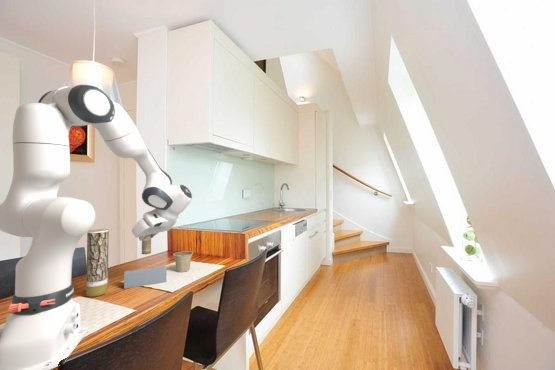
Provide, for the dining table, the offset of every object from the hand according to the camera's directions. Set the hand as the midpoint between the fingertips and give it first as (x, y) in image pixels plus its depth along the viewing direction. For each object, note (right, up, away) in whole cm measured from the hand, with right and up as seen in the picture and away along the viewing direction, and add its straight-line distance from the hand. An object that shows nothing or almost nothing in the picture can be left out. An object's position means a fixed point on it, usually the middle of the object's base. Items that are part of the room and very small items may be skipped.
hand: (145, 238), depth 109 cm
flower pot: (+10, -20, +17) cm, 29 cm away
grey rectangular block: (+1, -20, -1) cm, 20 cm away
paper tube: (-13, -20, -12) cm, 26 cm away
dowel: (+1, -7, 0) cm, 7 cm away
